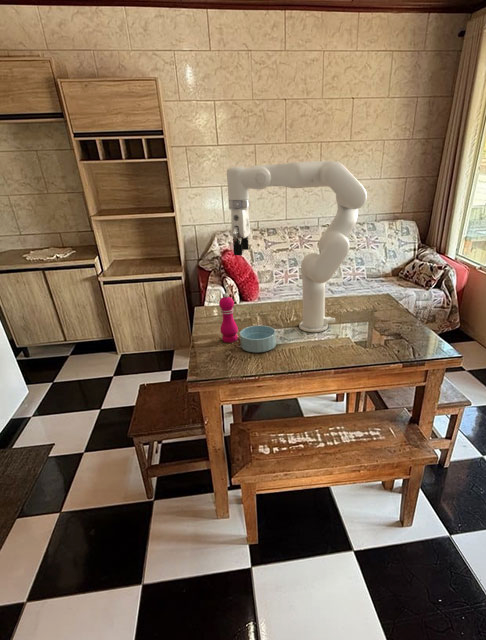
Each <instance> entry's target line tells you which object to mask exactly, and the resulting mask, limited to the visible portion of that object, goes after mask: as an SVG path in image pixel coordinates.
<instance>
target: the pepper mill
mask: <svg viewBox="0 0 486 640" xmlns="http://www.w3.org/2000/svg"><path fill="white" fill-rule="evenodd" d="M234 306H235V300H234V299H233V298H232V297H231V296H229V294H228V293H224V294H223V297H221V298H220V299H219V301H218V307H219V308H220V313H221V314H222V322H221V325H220V333H221V335H222V336H221V337H222V341H223V342H224V343H230V344H231V343H235V342H237V341H238V334H237V333H238V332H239V327H238V324H237V322H236V321H235V318H234V315H233V314H234V311H235V310H234Z"/></svg>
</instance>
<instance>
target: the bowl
mask: <svg viewBox="0 0 486 640" xmlns="http://www.w3.org/2000/svg"><path fill="white" fill-rule="evenodd" d="M239 341H240V348H241V349H242V350H244V351H245V352H248V353H249V352H250V353H255V354H256V353H257V354H258V353H265V352H268V351H269V352H270V351H271V350H273V349H274V348H276V346H277V331H276V329H275V328H274V327H272V326H269V325H262V324H261V325H260V324H259V325H251V326H247V327H244V328H242V329H241V330H240V332H239Z"/></svg>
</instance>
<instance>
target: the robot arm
mask: <svg viewBox="0 0 486 640" xmlns="http://www.w3.org/2000/svg"><path fill="white" fill-rule="evenodd" d="M226 181H227V183H226V185H227V196H228V210H230V218H231V219H230V222H231V223H230V225H231V226H230V227H231V237H232V245H233V247H232V249H233V255H234V256H243V250H244V251H249V249H250V248H249V236H250V234H251V225H250V214H249V210H250V189H252V190H258V191H259V190H260V191H261V190H264V189H266V188H269V187H271V188H272V187H282V188H289V189H306V188H323V187H324V188H325V187H328V188H330V189H331V190H332V191H333V193H334V194H335V200H336V203H337V210H336V213H335V215H334V218H333V219H332V221H331V222H330V223H329V225H328V227H327V228H326V229H325V231H324V232H323V234H322V235H321V237H320V238H319V240H318V248H319V250H320V251H321V252H320V253H316V252H310V253H307V254H306V255H305V256H304V257H303V258H302V260H301V263H300V264H301V265H300V272H301V278H302V279H301V280H302V281H301V283H302V321H301V322H299V324H298V327H299V329H300V330H301V331H304V332H307V333H320V332H323V331H326V330H327V329H328V328H329V323H336V318H335V317H332V316H325V315H326V314H325V313H326V283H327V282H328V281H329V280H330V279H331V278H332V277H333V276H334V274H335V273H336V272H337V271H338V269H339V268H340V267H341V264H343V262H344V261H345V259H346V258H347V256H348V254H349V251H350V249H351V248H350V247H351V246H350V241H349V239H348V237H349V236H350V234H351V233H352V231H353V229H354V228H355V226H356V224H357V221H358V218H359V217H358V216H359V209H361V208H363V206H365V204H366V202H367V199H368V193H367V190H366V189H365V187H364V186H363V184H362V183H361V182H360V181H359V180H358V179H357V178H356V177H355V175H353V174H352V173H351V171H350V170H348V168H347V167H346V166H345V165H344V164H343V163H342V162H339V161H337V160H336V161H335V160H318V161H317V160H316V161H296V162H295V161H294V162H288V163H287V162H286V163H277V164H275V163H274V164H257V165H251V166H250V167H246V166H231V167H228V168H227V169H226Z"/></svg>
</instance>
